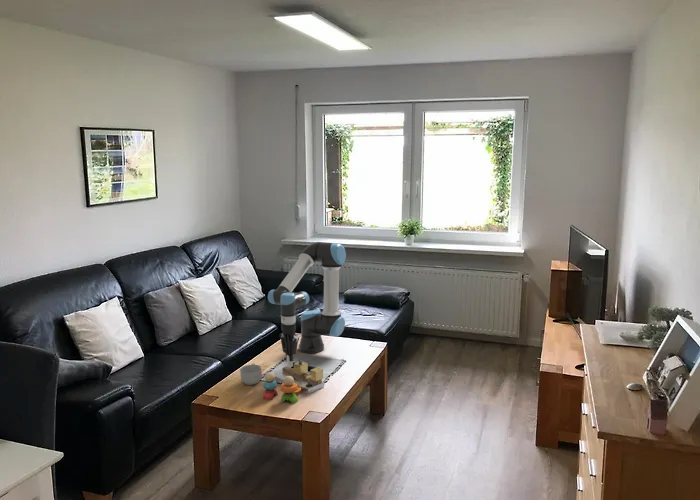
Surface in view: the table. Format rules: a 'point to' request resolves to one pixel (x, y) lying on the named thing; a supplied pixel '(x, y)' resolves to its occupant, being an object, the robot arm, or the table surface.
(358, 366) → the table surface
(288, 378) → the stacking toy figures
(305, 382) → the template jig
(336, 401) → the table surface
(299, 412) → the table surface
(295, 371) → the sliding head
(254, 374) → the teacup
